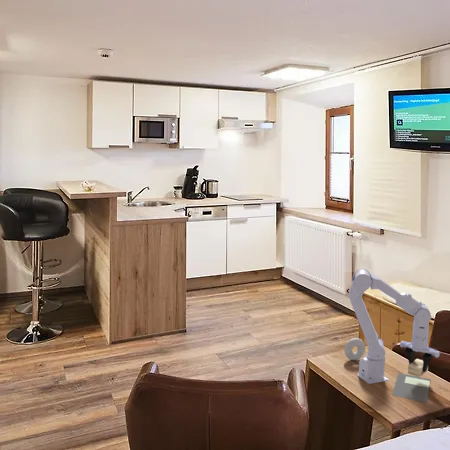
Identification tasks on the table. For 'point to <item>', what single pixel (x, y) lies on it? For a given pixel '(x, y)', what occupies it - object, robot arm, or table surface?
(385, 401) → the table surface
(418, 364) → the beige wooden block
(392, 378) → the table surface
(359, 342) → the donut
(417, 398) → the mat
